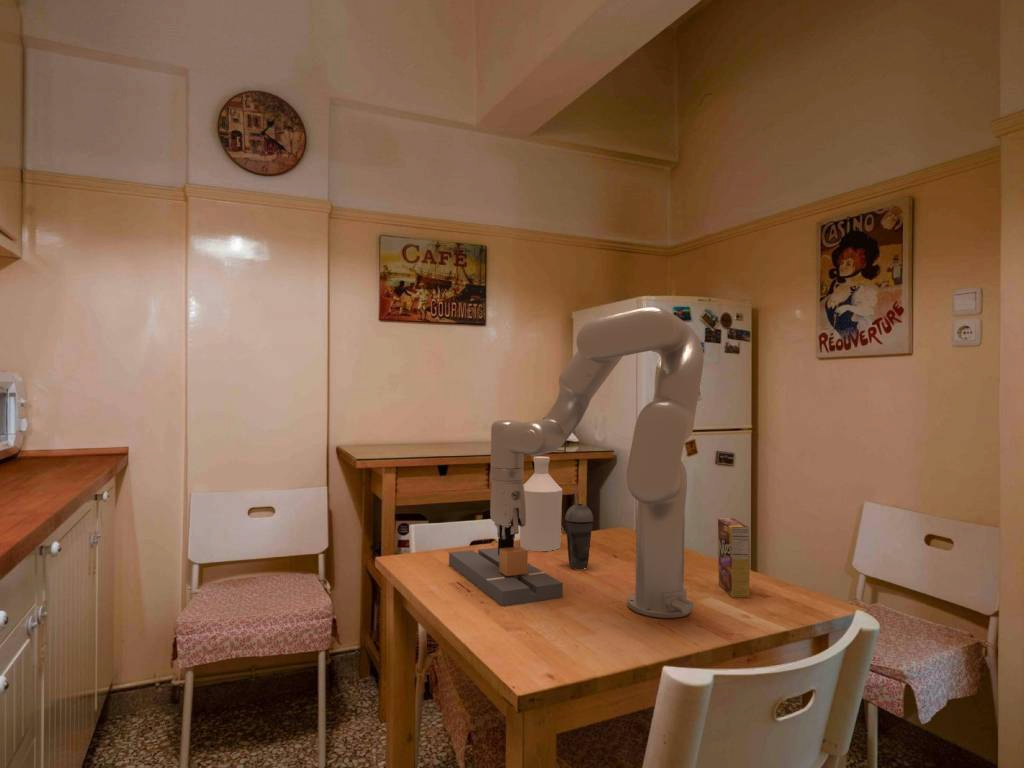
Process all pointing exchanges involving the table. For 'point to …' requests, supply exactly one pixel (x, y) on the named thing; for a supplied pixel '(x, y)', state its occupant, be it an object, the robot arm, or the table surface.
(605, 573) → the table surface
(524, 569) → the slider tab
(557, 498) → the bottle
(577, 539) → the beverage cup
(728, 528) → the candy box
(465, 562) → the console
